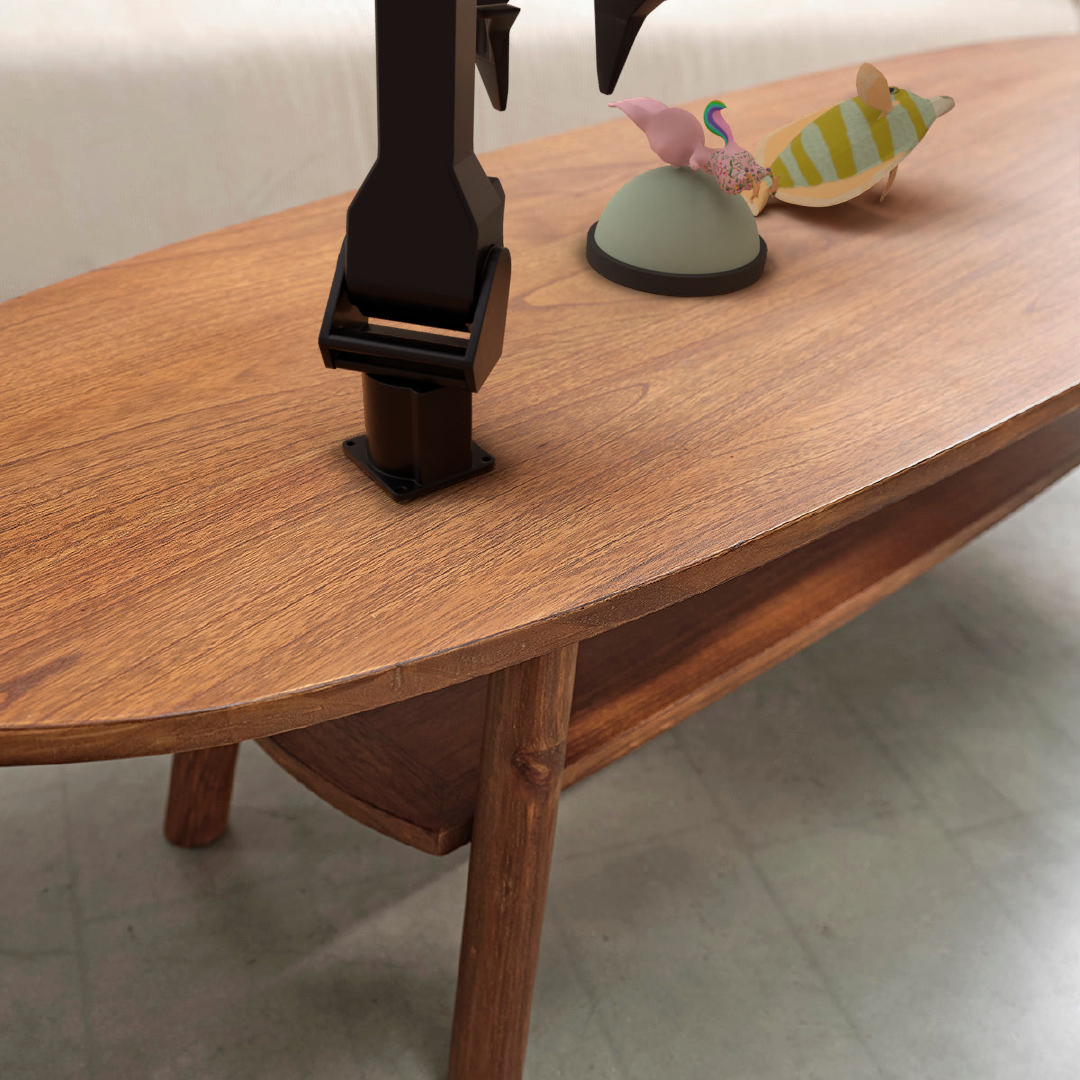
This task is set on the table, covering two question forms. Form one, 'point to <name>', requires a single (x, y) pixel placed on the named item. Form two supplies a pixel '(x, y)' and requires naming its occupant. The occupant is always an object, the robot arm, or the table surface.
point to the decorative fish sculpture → (845, 144)
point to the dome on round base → (677, 236)
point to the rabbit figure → (697, 143)
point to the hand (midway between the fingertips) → (554, 101)
